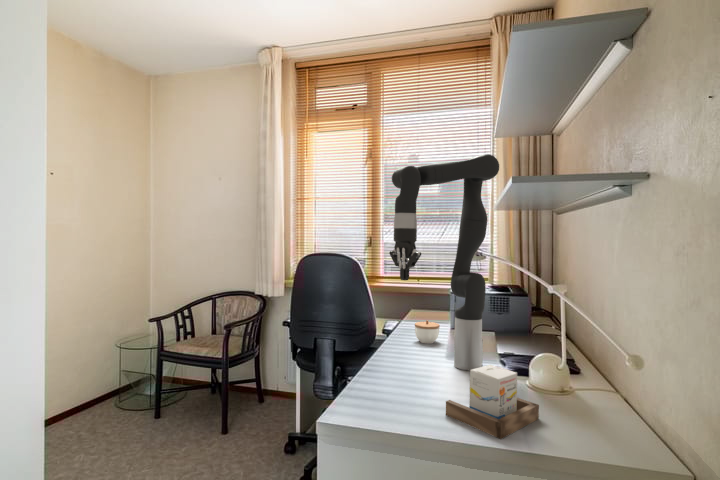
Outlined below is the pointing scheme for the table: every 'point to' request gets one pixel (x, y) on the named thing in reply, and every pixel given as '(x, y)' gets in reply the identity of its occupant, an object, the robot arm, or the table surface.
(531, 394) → the table surface
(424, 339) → the lidded jar
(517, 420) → the walnut corral
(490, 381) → the ink box
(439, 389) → the table surface
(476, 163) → the robot arm
